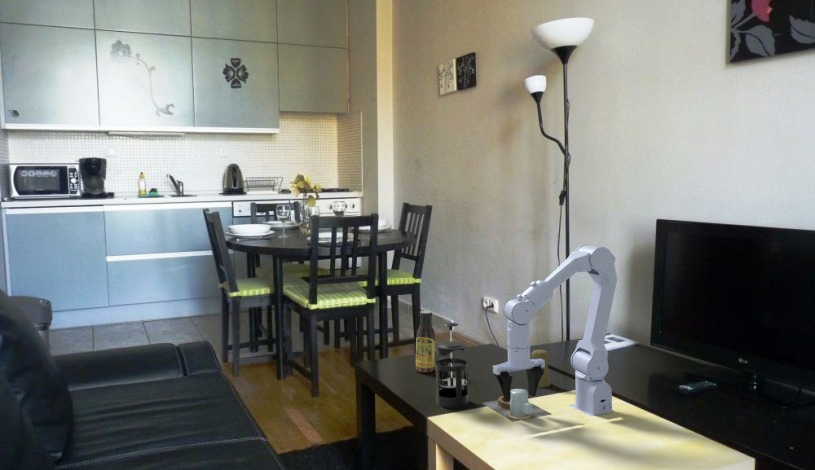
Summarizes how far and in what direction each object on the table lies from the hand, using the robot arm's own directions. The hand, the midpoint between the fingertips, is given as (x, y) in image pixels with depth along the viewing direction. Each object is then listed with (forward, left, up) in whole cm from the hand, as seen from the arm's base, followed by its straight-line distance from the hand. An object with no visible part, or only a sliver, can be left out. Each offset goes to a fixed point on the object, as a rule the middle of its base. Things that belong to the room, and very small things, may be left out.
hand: (519, 397), depth 167 cm
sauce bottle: (+51, +4, -6) cm, 51 cm away
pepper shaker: (+20, -20, -6) cm, 29 cm away
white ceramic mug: (-1, 0, -5) cm, 5 cm away
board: (+5, -2, -5) cm, 8 cm away
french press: (+17, +11, -6) cm, 22 cm away
